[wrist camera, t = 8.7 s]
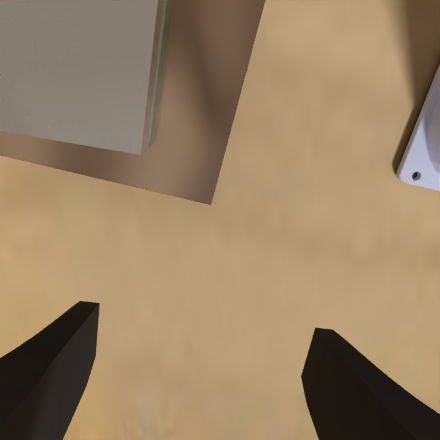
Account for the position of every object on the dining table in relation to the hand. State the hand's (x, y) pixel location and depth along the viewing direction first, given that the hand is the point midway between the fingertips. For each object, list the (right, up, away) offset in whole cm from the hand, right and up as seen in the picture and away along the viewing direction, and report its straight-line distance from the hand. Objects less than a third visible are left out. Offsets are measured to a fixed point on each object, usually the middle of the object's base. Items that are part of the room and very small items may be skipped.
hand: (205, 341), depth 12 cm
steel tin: (-4, +11, +4) cm, 12 cm away
